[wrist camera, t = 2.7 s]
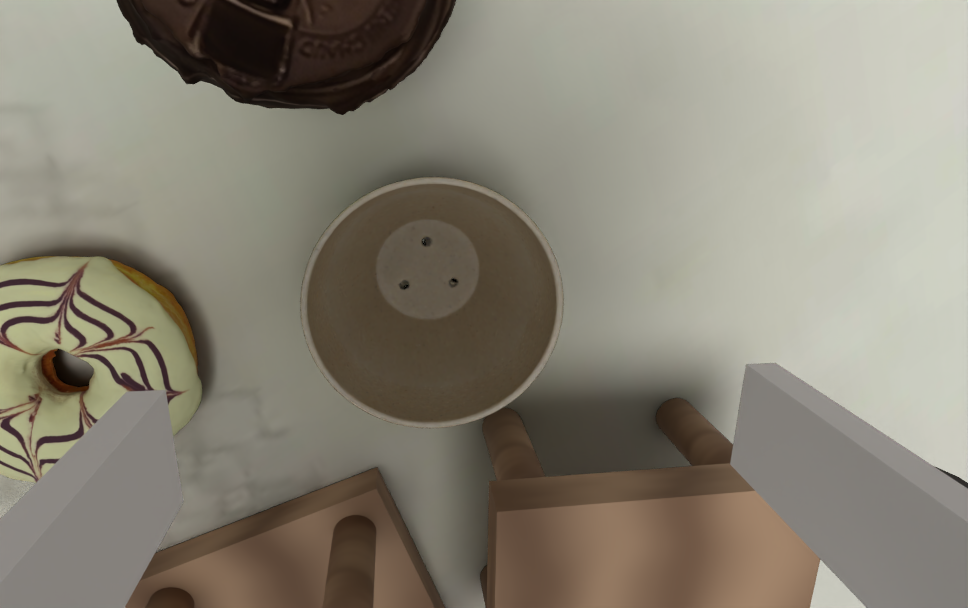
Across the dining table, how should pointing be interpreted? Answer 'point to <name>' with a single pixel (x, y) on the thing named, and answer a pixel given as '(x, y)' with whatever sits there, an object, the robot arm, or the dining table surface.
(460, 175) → the dining table surface
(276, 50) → the coffee cup
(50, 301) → the decorated donut
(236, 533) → the upturned stool
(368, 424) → the dining table surface
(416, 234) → the flower pot
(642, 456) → the dining table surface
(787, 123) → the dining table surface
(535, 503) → the stool
